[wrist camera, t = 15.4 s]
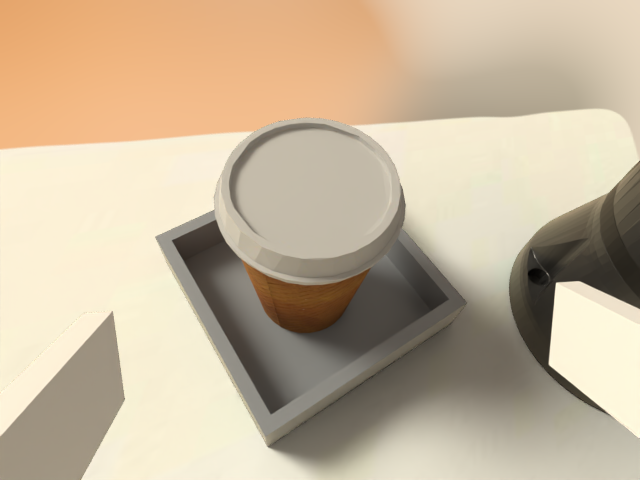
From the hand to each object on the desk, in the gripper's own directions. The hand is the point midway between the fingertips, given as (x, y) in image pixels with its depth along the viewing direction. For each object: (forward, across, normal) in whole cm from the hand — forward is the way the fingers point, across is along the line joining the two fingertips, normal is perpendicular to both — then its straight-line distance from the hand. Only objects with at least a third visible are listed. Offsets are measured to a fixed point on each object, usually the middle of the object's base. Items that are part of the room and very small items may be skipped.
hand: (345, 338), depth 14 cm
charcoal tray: (+19, 0, -5) cm, 19 cm away
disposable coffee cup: (+18, 0, -5) cm, 19 cm away
